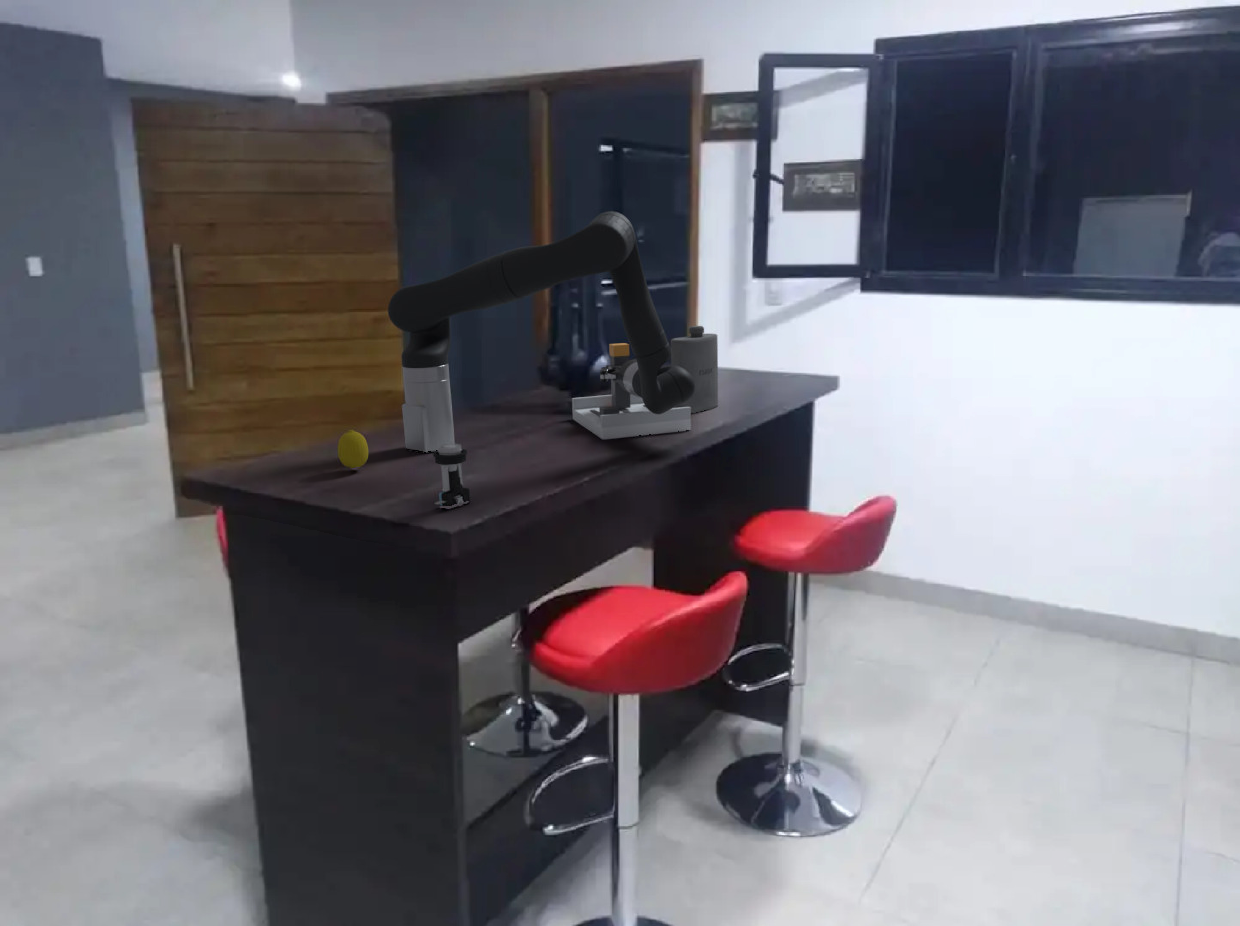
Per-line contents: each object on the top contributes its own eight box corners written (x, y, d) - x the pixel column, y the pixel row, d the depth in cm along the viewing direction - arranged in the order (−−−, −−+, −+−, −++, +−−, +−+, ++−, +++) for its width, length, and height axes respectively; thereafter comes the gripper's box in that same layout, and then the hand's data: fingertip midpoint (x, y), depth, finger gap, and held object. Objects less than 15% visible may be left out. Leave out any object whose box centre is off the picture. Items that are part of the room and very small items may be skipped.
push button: (448, 515, 142) (442, 453, 140) (424, 510, 145) (419, 449, 143) (478, 504, 147) (473, 444, 145) (454, 499, 150) (449, 441, 148)
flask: (687, 416, 212) (686, 330, 207) (668, 413, 216) (666, 329, 211) (724, 405, 223) (724, 323, 218) (705, 403, 226) (704, 322, 221)
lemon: (345, 467, 174) (341, 427, 172) (374, 467, 174) (369, 426, 172) (336, 475, 169) (331, 433, 167) (365, 474, 169) (360, 432, 167)
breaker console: (691, 430, 196) (690, 405, 195) (602, 439, 191) (601, 413, 189) (653, 411, 219) (652, 388, 217) (572, 419, 213) (571, 396, 211)
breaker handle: (631, 407, 208) (629, 344, 205) (615, 409, 207) (613, 345, 204) (626, 405, 211) (624, 343, 208) (611, 406, 210) (609, 344, 207)
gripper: (671, 359, 195) (644, 350, 211) (608, 364, 191) (585, 355, 207) (671, 393, 197) (645, 382, 213) (609, 399, 193) (587, 387, 209)
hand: (616, 369), depth 210 cm, fingers closed on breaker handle, 3 cm apart
